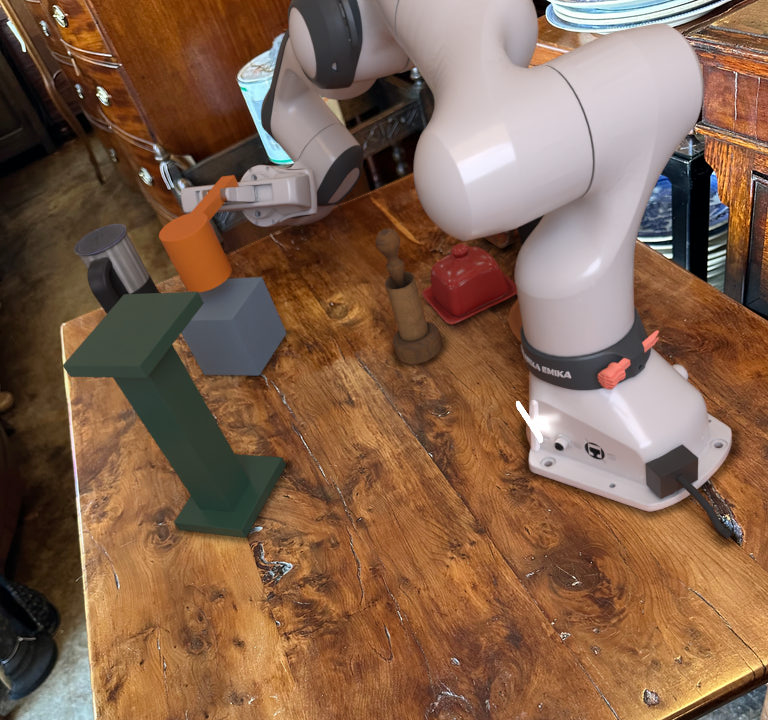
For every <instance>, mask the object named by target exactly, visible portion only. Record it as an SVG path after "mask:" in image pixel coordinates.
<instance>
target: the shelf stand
mask: <svg viewBox="0 0 768 720" xmlns="http://www.w3.org/2000/svg"><path fill="white" fill-rule="evenodd" d="M203 304H204V303H203V301H202V299H201V297H200V295H199V293H198V292H189V291H178V292H176V291H175V292H160V293H148V294H124V295H123V296H122V297H121V299H120V300H119V301H118V302H117V303H116V304H115V305H114V307H113V308H112V309H111V310H110V311H109V312H108V314H106V315H104V317H103V318H102V319H101V320H100V321H99V323H98V324H96V326H95V327H94V328H93V330H92V331H91V332H90V333H89V334H88V335H87V336H86V338H85V339H84V340H83V341H82V342H81V343H80V344H79V345H78V347H77V348H76V349H75V350H74V351H73V353H71V355H70V356H69V357H68V358H67V360H66V361H65V362H64V363H63V364H62V368H63V369H64V370H65V372H66V373H67V375H68V376H69V377H70V378H111V379H113V380H114V381H115V383H116V385H117V386H118V388H119V389H120V391H121V392H122V393H123V395H124V397H125V399H126V400H127V401H128V403H129V405H130V406H131V407H132V409H133V411H134V412H135V414H136V415H137V416H138V418H139V420H140V421H141V422H142V424H143V426H144V427H145V428H146V430H147V432H148V434H150V436H151V438H152V439H153V441H154V442H155V444H156V446H157V447H158V448H159V450H160V451H161V453H162V454H163V456H164V457H165V459H166V460H167V463H169V465H170V467H171V468H172V469H173V471H174V472H175V474H176V475H177V477H178V478H179V480H180V482H181V483H182V484H183V486H184V488H185V489H186V491H187V493H188V494H189V497H188V499H187V501H186V502H185V504H183V505H184V506H183V507H182V509H181V510H180V512H179V513H178V515H177V516H176V518H175V519H174V522H173V523H174V526H176V528H177V530H179V531H184V532H193V533H202V534H210V535H220V536H228V537H235V538H236V537H237V538H243V539H244V538H245V539H246V538H247V537H248V535H249V534H250V531H251V530H252V528H253V526H254V525H255V522H256V521H257V519H258V517H259V515H260V513H261V512H262V510H263V508H264V506H265V505H266V503H267V501H268V499H269V498H270V496H271V494H272V492H273V490H274V488H275V486H276V485H277V483H278V481H279V479H280V477H281V476H282V474H283V472H284V470H285V469H286V467H287V463H286V461H285V459H284V458H283V457H282V456H269V455H256V454H255V455H254V454H238V453H235V451H234V450H233V448H232V447H231V444H230V443H229V441H228V440H227V438H226V436H225V434H224V433H223V431H222V429H221V428H220V426H219V424H218V422H217V420H216V419H215V417H214V415H213V413H212V411H211V410H210V408H209V406H208V404H207V403H206V401H205V399H204V397H203V396H202V394H201V391H200V390H199V388H198V387H197V385H196V383H195V382H194V380H193V378H192V376H191V375H190V373H189V371H188V369H187V368H186V366H185V363H184V362H183V361H182V358H181V357H180V355H179V354H178V351H177V350H176V348H175V346H174V343H175V342H176V341H177V340H178V338H179V337H180V335H182V334H181V333H182V331H183V330H184V329H185V327H186V326H187V325H188V323H189V322H190V321H191V319H192V318H193V317H194V315H195V314H196V313H197V312H198V310H199V309H200V308H201V306H202V305H203Z"/></svg>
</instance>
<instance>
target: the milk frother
mask: <svg viewBox="0 0 768 720" xmlns="http://www.w3.org/2000/svg"><path fill="white" fill-rule="evenodd" d="M73 252H74V254H76V255H78V256H79V258H80V259H81V262H82V263H83V264H84V266H85V268H86V270H87V273H86V275H87V282H88V285H89V288H90V290H91V293H92V294H93V296H94V297H95V300H96V301H97V302H98V303H99V304H100V306H101V308H102V309H103V310H104V313H105V314H106V315H107V314H108V312H109V311H110V310H111V309H112V308H113V307H114V305H115V304H116V303H117V302H118V301H119V300H120V299H121V297H122V296H123V295H124V294H148V293H161V292H160V290H159V288H158V287H157V285H156V284H155V282H154V279H153V278H152V276H151V275H150V273H149V271H148V269H147V267H146V266H145V263H144V262H143V260H142V258H141V256H140V254H139V253H138V251H137V249H136V247H135V245H134V243H133V242H132V240H131V238H130V236H129V235H128V233H127V227H126V226H125V224H122V223H113V224H108V225H105V226H101V227H99V228H96V229H95V230H93V231H90V232H89V233H87V234H86V235H84V236H83V237H82V238H80V240H78V241H77V243H76V244H75V245H74V248H73Z"/></svg>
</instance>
